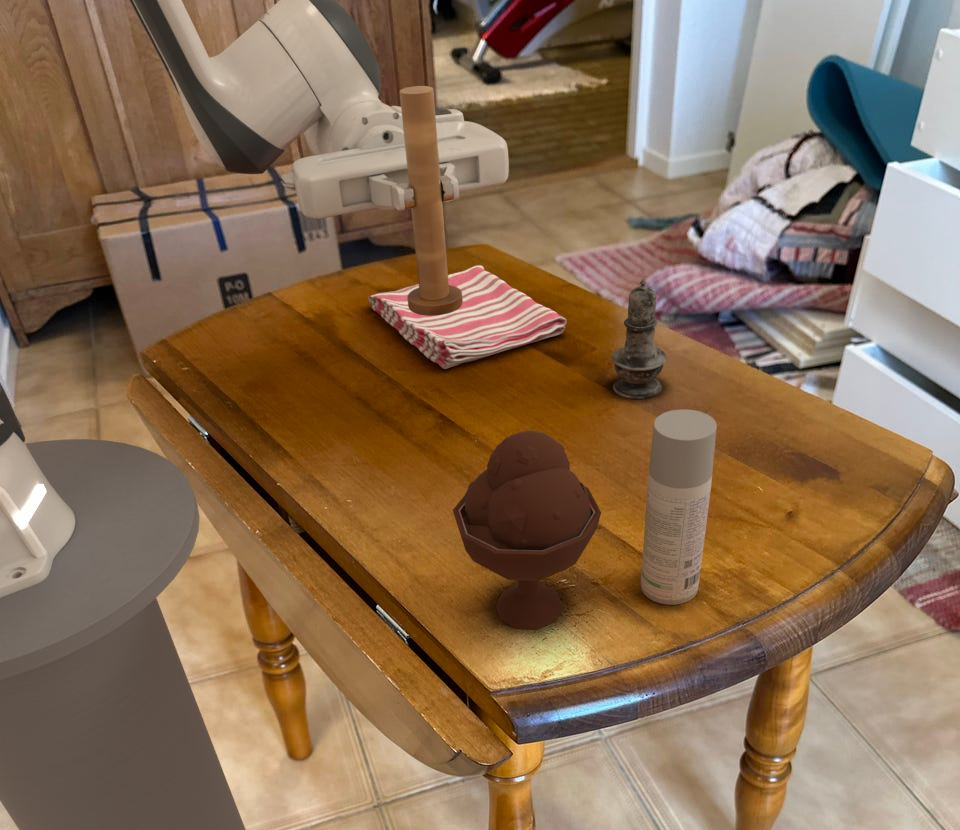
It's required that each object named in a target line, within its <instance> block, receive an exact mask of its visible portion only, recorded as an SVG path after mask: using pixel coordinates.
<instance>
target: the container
mask: <svg viewBox="0 0 960 830" xmlns="http://www.w3.org/2000/svg"><path fill="white" fill-rule="evenodd" d="M717 428H718V424H717V422H716V420H715V419H714V418H713V417H712V416H710V414H707V413H705V412H703V411H699V410H695V409H687V408H686V409H684V408H683V409H672V410H669V411H666V412H663V413H661V414H660V415H658V416H657V417H656V418H655V419H654V421H653V428H652V437H651V439H652V440H651V448H650V449H651V450H650V457H649V468H648V477H647V490H646V503H645V516H644V517H645V520H644V532H643V533H644V534H643V546H642V560H641V561H642V562H641V575H640V589H641V591H642V593H643V594H644V596H645V597H647V598H648V599H649V600H650V601H653V602H655V603H658V604H661V605H667V606H668V605H670V606H673V605H675V606H676V605H682V604H684V603H687V602H689V601H691V600H693V599H694V598H695V597H696V596H697V594H698V591H699V587H700V586H699V584H700V577H701V569H702V563H703V562H702V561H703V553H704V546H705V539H706V531H707V522H708V515H709V514H708V513H709V508H710V507H709V506H710V499H711V490H712V481H713V480H712V479H713V470H714V458H715V449H716V438H717Z"/></svg>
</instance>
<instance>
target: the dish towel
mask: <svg viewBox="0 0 960 830" xmlns="http://www.w3.org/2000/svg"><path fill="white" fill-rule="evenodd" d="M448 282H449V285H452V286H455V287H457V288H459V289H460V290H461V291H462V299H463V304H462V306H461V307H460V308H459V309H457V310H456V311H454V312H451V313H448V314H444V315H436V316H426V315H419V314H416V313H414V312H412V311H411V310H410V309H409V307H408V299H407V297H408V294H409V293H410V292H411V291H412V290H414V289H416V288H419V283H418V284H414V285H411V286H406V287H404V288H401V289H398V290H395V291H393V290H392V291H387V292H386V291H385V292H379V293H374V294H371V295H369V296H368V303H369V305H370V306H371V309H372V310H373V311H374V312H376V313H377V314H378V315H380V316H381V319H383V320H384V321H385V322H386V323H387V324H389V325H390V326H391V327H392V328H394V329H395V330H397V331H398V333H399V334H400V335H401V336H402V337H403V338H404V340H405V341H406V342H408V343H410V345H412V346H414V347H415V348H416V349H418V350H419V352H420V353H421V354H423V355H424V357H426V358H427V359H428V360H430V361H431V362H433V363H434V364H438V366H439V367H440V368H442V369H443V370H447V369H449V368H453V367H456V366H458V365H460V364H464V363H469V362H473V361H477V360H479V359H484V358H487V357H490V356H492V355H495V354H499V353H501V352H506V351H509V350H512V349H515V348H520V347H523V346H527V345H529V344H532V343H536V342H539V341H541V340H546V339H550V338H552V337H557V336H559V335H561V334H563V332H564V331H565V329H566V325H567V319H566V317H564V316H562V315H561V314H558V312H556V311H554V310H553V309H551V308H549V307H546V306H544V305H542V304H540V303H538V302H536V301H534V300H533V298H532V297H530V296H528V295H527V294H526V293H524V292H522V291H519V290H518V289H516V288H513V287H512V286H511V285H509V284H508V282H506V281H505V280H503V279H501V278H500V277H498V275H495V274H493V273H492V272H489V271H487V270H485V267H484V266H483V265H482V264H477V265H474V266H472V267H469V268H467V269H465V270H462V271H458V272H454V273H453V272H452V273H450V274H448Z"/></svg>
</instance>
